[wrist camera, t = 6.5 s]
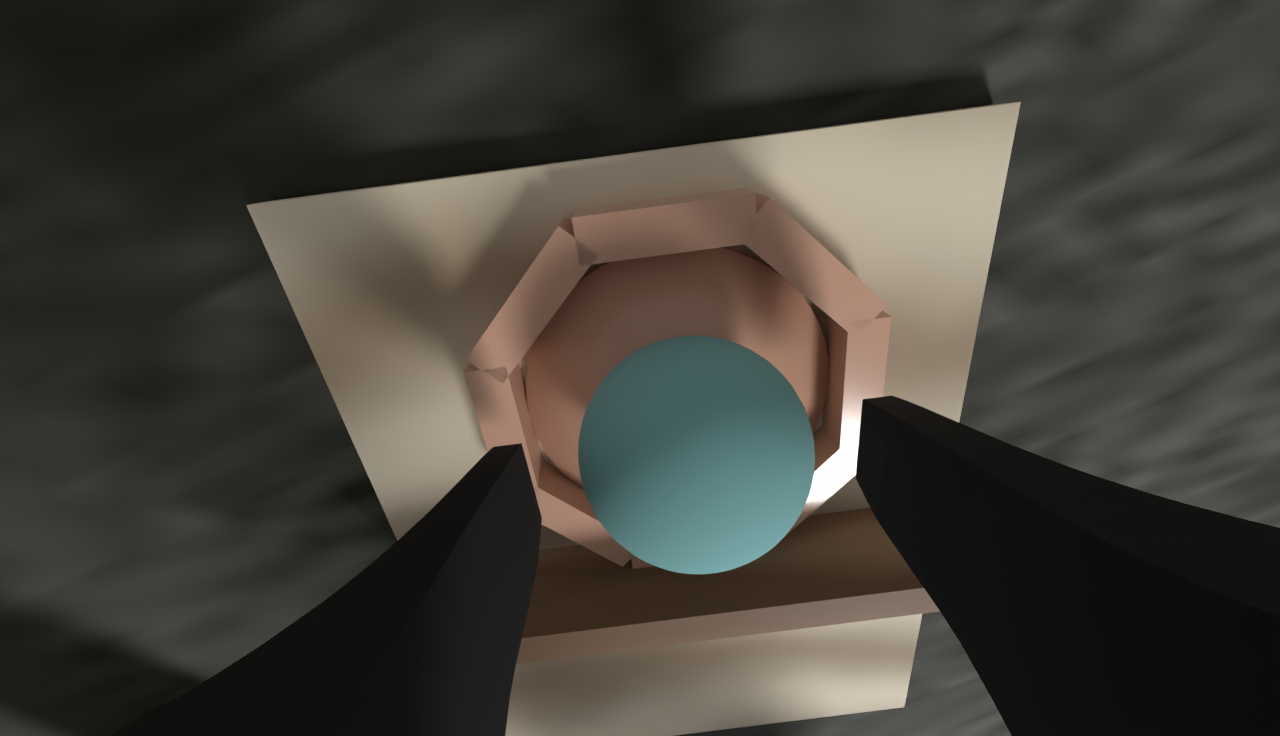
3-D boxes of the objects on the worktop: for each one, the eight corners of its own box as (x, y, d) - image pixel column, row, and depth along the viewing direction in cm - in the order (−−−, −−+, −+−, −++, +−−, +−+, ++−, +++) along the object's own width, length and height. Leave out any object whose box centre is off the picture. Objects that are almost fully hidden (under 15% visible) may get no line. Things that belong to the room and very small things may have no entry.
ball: (772, 459, 14) (852, 612, 9) (599, 483, 14) (596, 648, 9) (770, 291, 12) (872, 385, 7) (566, 320, 12) (541, 432, 7)
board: (894, 687, 21) (949, 796, 17) (498, 736, 21) (476, 854, 17) (994, 104, 11) (1161, 89, 8) (269, 200, 11) (121, 228, 8)
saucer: (849, 510, 15) (867, 539, 14) (534, 550, 15) (528, 582, 14) (878, 169, 11) (907, 173, 10) (440, 227, 11) (421, 237, 10)
